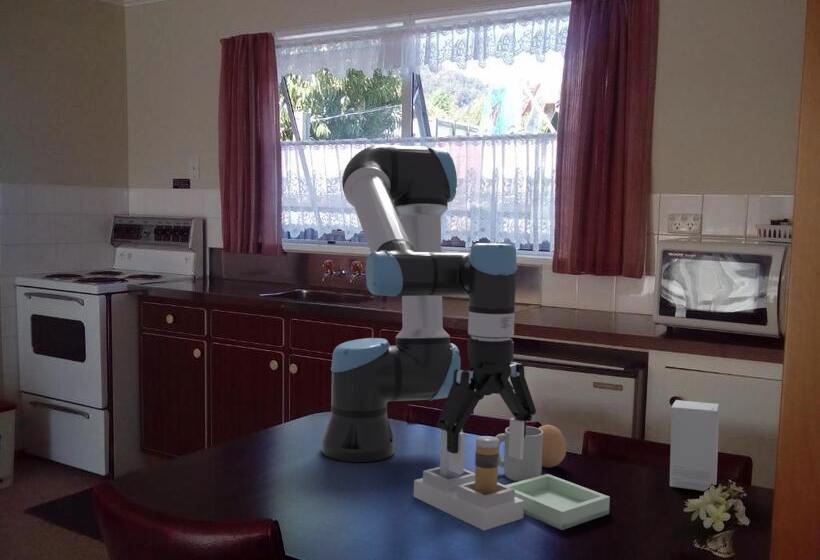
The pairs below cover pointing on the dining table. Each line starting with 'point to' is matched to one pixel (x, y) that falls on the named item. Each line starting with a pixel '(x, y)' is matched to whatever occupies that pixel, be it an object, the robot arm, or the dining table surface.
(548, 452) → the egg
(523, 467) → the cup
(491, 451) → the cylinder
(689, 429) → the skincare box
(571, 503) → the parts tray
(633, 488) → the dining table surface
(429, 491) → the block
